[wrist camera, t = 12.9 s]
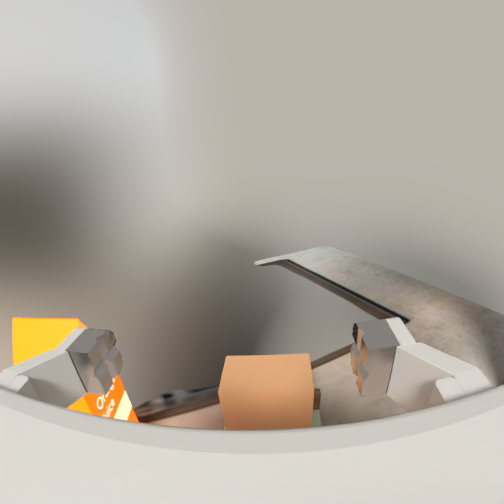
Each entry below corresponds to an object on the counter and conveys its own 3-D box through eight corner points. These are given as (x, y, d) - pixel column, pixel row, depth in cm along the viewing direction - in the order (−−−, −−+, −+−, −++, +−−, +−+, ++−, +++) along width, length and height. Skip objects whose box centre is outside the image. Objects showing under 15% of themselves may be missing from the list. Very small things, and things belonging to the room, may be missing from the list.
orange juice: (135, 483, 25) (58, 342, 19) (71, 471, 25) (-11, 336, 19) (146, 436, 33) (95, 298, 27) (88, 429, 33) (30, 300, 27)
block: (309, 449, 29) (314, 389, 26) (230, 450, 30) (218, 392, 27) (306, 413, 35) (308, 353, 32) (235, 415, 36) (226, 355, 33)
